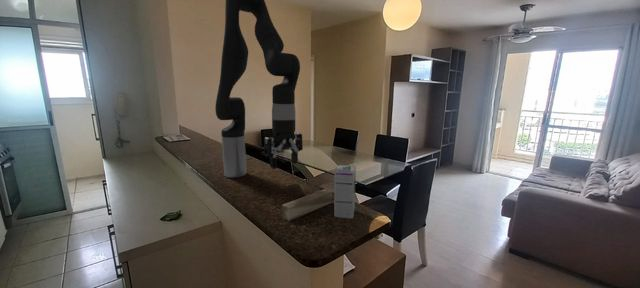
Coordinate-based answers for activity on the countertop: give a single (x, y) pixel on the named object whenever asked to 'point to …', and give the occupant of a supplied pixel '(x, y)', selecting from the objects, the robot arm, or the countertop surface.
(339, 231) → the countertop surface
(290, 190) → the brick
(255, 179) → the countertop surface
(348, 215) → the syrup box
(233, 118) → the robot arm
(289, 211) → the fence board
